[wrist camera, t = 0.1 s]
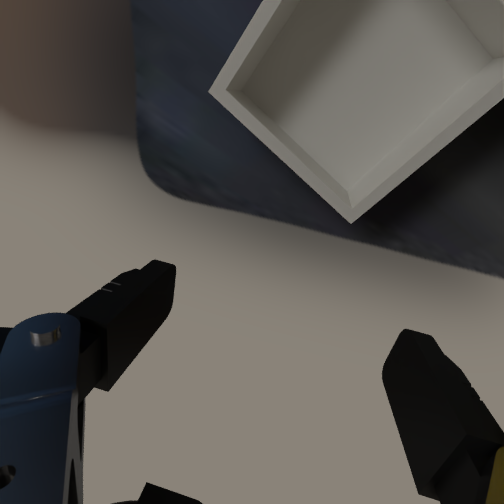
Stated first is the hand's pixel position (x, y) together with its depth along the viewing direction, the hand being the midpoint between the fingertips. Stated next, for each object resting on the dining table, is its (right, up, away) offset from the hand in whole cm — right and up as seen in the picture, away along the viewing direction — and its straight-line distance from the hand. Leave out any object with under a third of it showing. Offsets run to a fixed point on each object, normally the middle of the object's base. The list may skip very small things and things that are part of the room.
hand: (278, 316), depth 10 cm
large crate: (+8, +18, +14) cm, 24 cm away
